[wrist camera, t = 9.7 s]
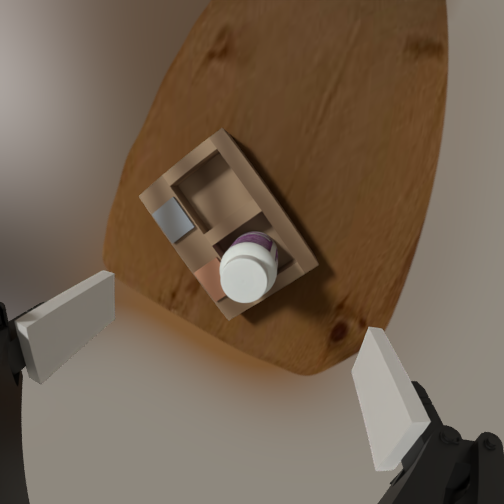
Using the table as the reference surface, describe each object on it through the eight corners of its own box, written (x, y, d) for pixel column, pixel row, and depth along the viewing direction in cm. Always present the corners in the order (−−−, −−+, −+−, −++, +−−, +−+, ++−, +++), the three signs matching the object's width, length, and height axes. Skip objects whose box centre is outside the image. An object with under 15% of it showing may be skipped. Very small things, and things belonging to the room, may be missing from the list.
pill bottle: (222, 248, 34) (198, 273, 24) (259, 221, 33) (248, 236, 23) (251, 285, 34) (238, 321, 25) (288, 259, 33) (288, 288, 24)
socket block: (228, 133, 32) (221, 127, 28) (315, 256, 34) (319, 265, 30) (151, 194, 34) (136, 196, 30) (233, 308, 36) (227, 322, 33)
